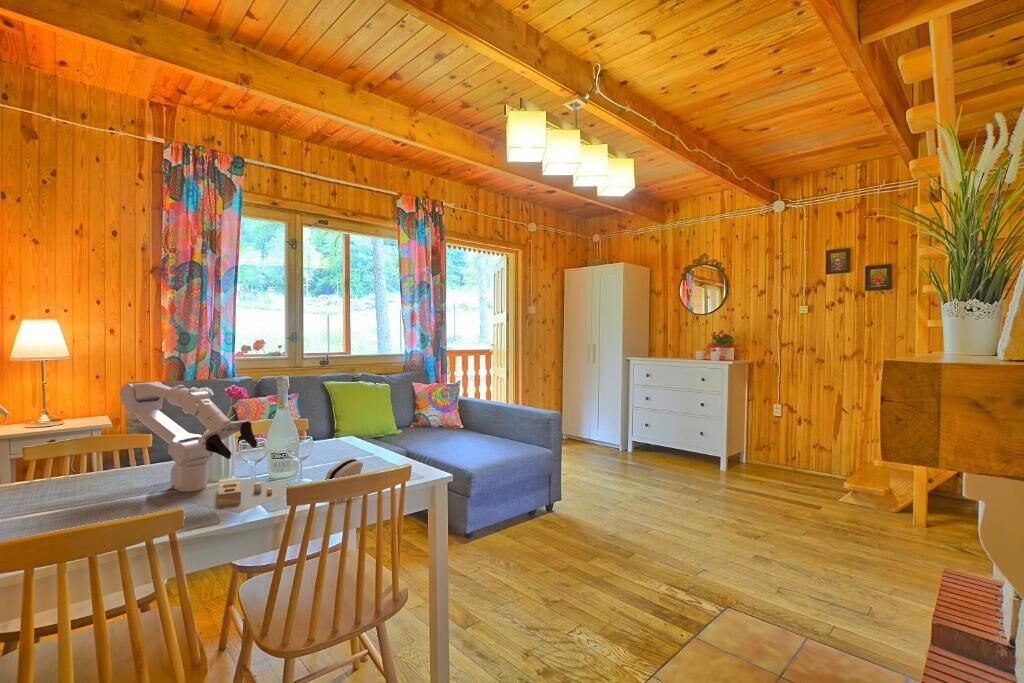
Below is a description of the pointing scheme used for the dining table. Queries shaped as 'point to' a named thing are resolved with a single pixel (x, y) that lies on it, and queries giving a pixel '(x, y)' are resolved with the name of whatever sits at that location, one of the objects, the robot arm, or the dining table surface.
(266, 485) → the board
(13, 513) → the dining table surface
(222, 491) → the tan block
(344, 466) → the tan half-round piece
